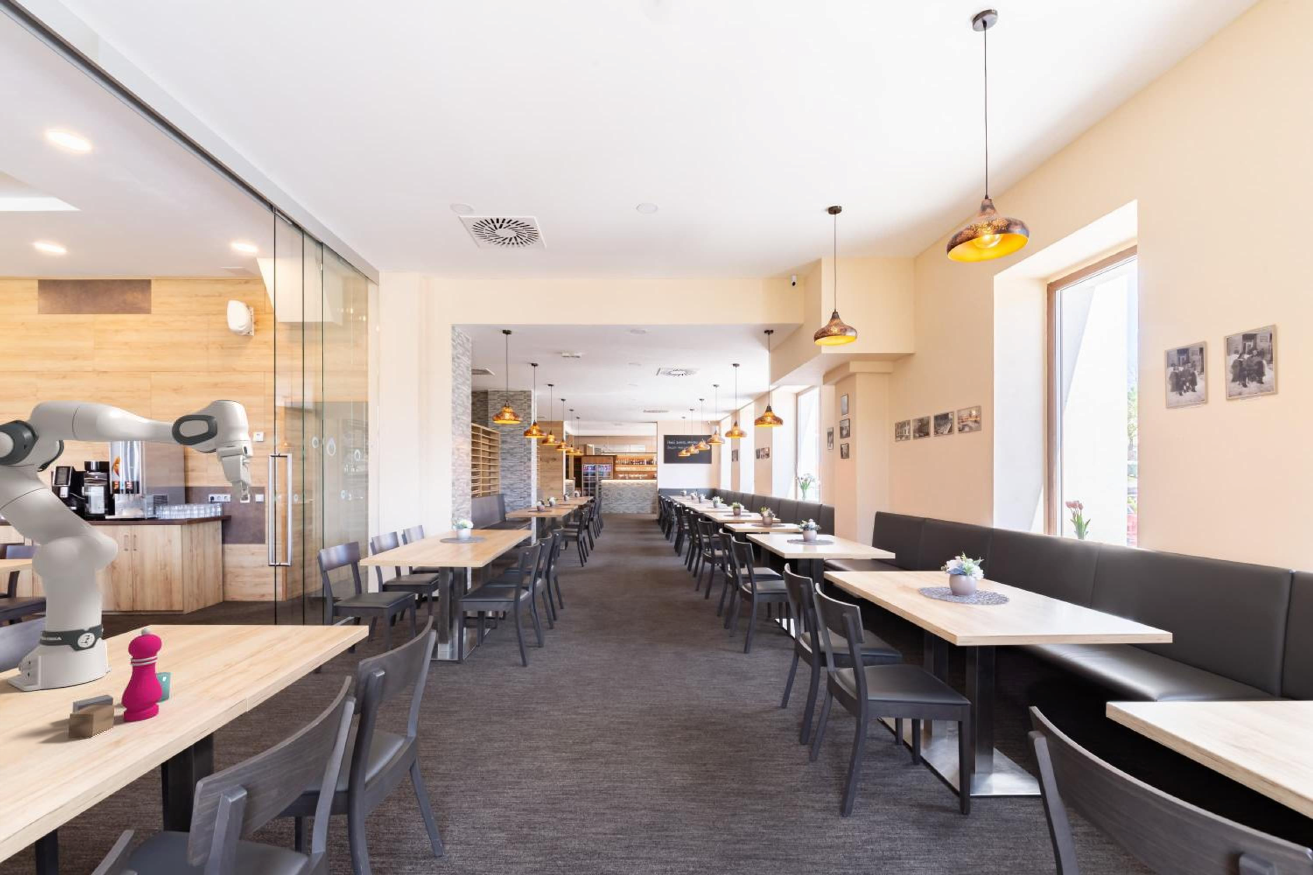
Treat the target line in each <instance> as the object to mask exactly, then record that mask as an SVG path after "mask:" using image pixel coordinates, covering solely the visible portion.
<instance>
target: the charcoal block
mask: <svg viewBox="0 0 1313 875" xmlns="http://www.w3.org/2000/svg"><path fill="white" fill-rule="evenodd" d="M91 705H114V697H113V696H111V695H109V694H103V695H99V696H94V697H90V698H86V699H81V700H77V701H73V702H72V712H71V713H74V712H76V711H79V710H81V709H83V708H86V707H88V706H91Z"/></svg>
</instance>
